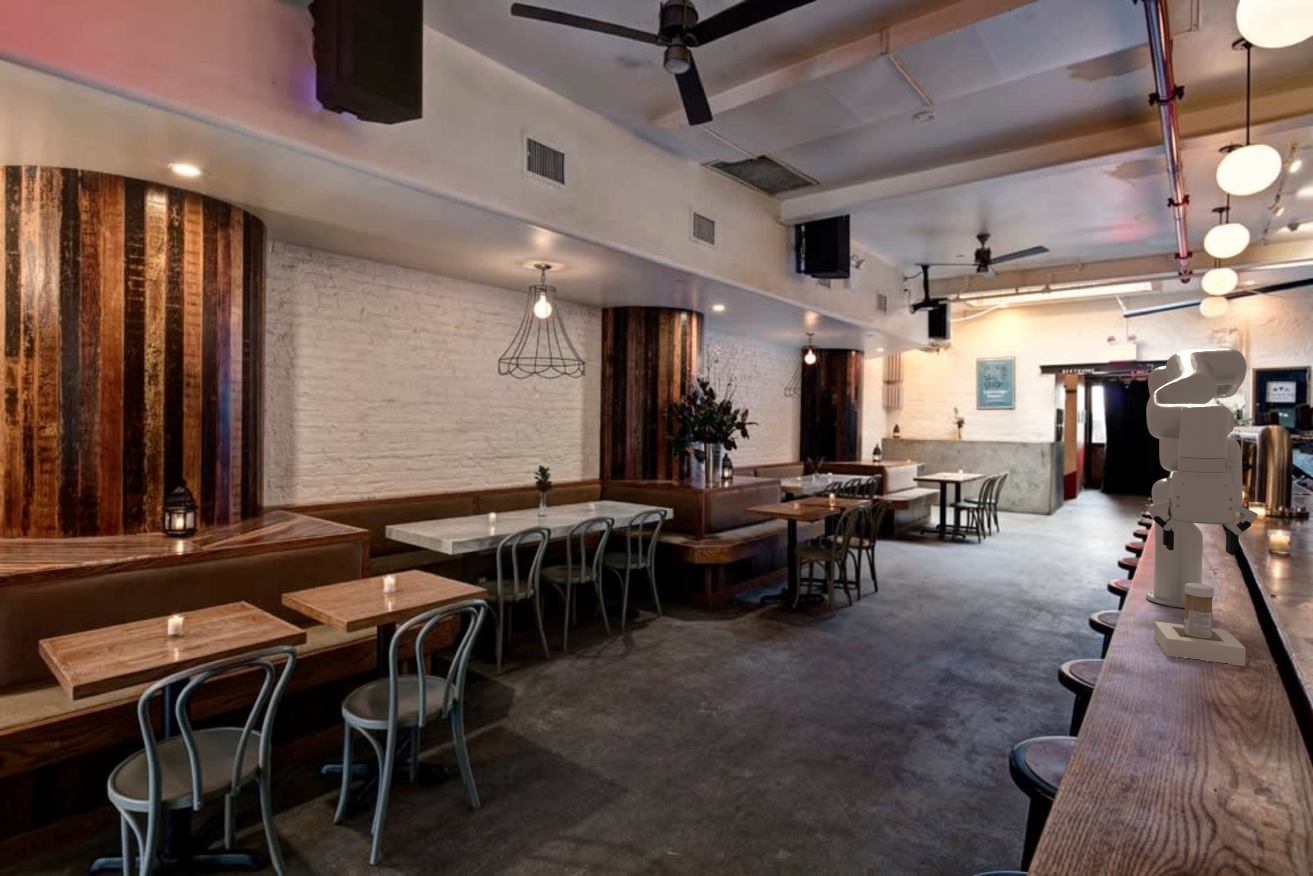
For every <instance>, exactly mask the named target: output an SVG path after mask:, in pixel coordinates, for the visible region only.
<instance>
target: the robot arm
mask: <svg viewBox="0 0 1313 876" xmlns="http://www.w3.org/2000/svg"><path fill="white" fill-rule="evenodd" d="M1247 368H1248V367H1247V360H1246V357H1245V356H1244V354H1243V353H1242V352H1241V351H1239V350H1238V349H1235V348H1231V347H1230V348H1206V349H1201V348H1200V349H1186V350H1182V351H1181V350H1180V351H1178V352H1176V353H1175V354H1173V355H1172V356H1170V357H1169V358H1168V359H1167V361H1166V364H1165V365H1163V366H1159V367H1156V368H1154V369H1152V370H1151V371H1150V373H1149V375H1148V379H1147V380H1148V381H1147V384H1148V392H1149V396H1150V397H1149V398H1148V401H1147V403H1146V424H1147V425H1146V426H1147V430H1148V432H1149V434H1150V435H1151V436H1152V437H1154V438H1156V439H1159V441H1158V442H1159V443H1158V444H1159V447H1158V448H1159V449H1158V452H1159V463H1160V466H1161V467H1162V468H1163V469H1164V470H1166V471H1167V472H1172V473H1171V477H1165V478H1161V479H1159V480H1157V481H1156V482H1155V483H1153V485H1152V489H1151V497H1152V498H1151V499H1152V505H1150V506H1148V507H1146V509H1147V512H1148V514H1149V515H1150V517H1151V518H1152V520H1153V521H1154V526H1155V527H1154V529H1155V531H1154V568H1153V569H1154V570H1153V571H1154V572H1153V574H1154V575H1153V576H1154V578H1153V590H1152V591H1148V592H1147V593H1145V596H1146V599H1147V600H1148V601H1151V602H1153V603H1155V604H1159V605H1164V606H1168V607H1174V608H1180V609H1185V599H1186V598H1185V597H1186V595H1185V594H1186V593H1185V584H1187V583H1199V584H1203V560H1204V559H1203V557H1204V556H1203V554H1204V551H1203V550H1204V538H1203V533H1202V531H1201V530H1200V528H1199V527H1198V526H1197V525H1196V524H1202V525H1203V524H1206V525H1207V524H1208V525H1209V524H1210V525H1221V526H1223V525H1224V527H1225V528H1226V529H1227V530H1228V531H1227V532H1225V535H1226V537H1225V553H1227V554H1229V555H1231V556H1235V554H1236V551H1239V545H1240V544H1239V543H1240V541H1239V540H1240V537H1239V536H1240V535H1241V534H1242V533H1243V532H1245V531H1246V530H1247V529H1250V527H1251V526H1252V524H1253V523H1254V522H1255V520H1256V519H1257V517H1258V513H1257V512H1255V511H1254V510H1250V509H1248V508H1246V507H1244V506H1243V455H1242V449H1241V446H1240V443H1239V442H1238V441H1237V439H1235V438H1233V437H1231V436H1229V435H1230V433H1232V432H1234V429H1235V428H1234V427H1235V414H1234V412H1232V411H1231V410H1230V408H1229V407H1228V406H1226V405H1224V404H1219V403H1218V404H1217V403H1209V402H1210V401H1212V400H1213V399H1225V398H1231V397H1232V396H1235V394H1236V393H1237V392H1238V391H1239V389H1240V387H1241V386H1242V384H1243V383H1244V380H1246V379H1245V378H1246V376H1247ZM1240 514H1241V515H1244V517H1243V520H1241V521H1239V522H1238V523H1237V524H1235V523H1234V521H1235V519H1236V518H1237V517H1238V516H1239V515H1240Z"/></svg>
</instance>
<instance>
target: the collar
mask: <svg viewBox="0 0 1313 876" xmlns="http://www.w3.org/2000/svg"><path fill="white" fill-rule="evenodd" d="M1153 630H1154V631H1153V632H1154V634H1153V635H1154V636H1153V637H1155V638H1154V639H1156V640H1157V641H1158V642H1157V641H1156V640H1155V641H1156V642H1157V644H1158V643H1159V644H1160V645H1161V647H1162V648H1161V647H1160V648H1161V650H1162V649H1163V650H1164V651H1163V650H1162V651H1163V653H1164V652H1165V653H1166V654H1165V653H1164V654H1165V656H1166V655H1169V656H1168V657H1171V656H1178V657H1187V658H1193V659H1203V660H1209V661H1216V662H1222V663H1221V664H1223V663H1228V664H1227V665H1231V666H1239V667H1246V653H1247V651H1246V647H1245V646H1244V645H1243V644H1242V643H1241V642H1240V641H1239V640H1238V639H1237V638H1236V637H1235V636H1233V635H1232V633H1231V632H1229V631H1228V629H1223V628H1214V627H1212V637H1211V640H1203V639H1195V638H1187V637H1184V624H1179V623H1171V622H1164V621H1163V622H1161V621H1154V629H1153ZM1159 644H1158V645H1159ZM1160 645H1159V646H1160ZM1178 657H1177V658H1178ZM1193 659H1192V660H1193ZM1216 662H1215V663H1216Z"/></svg>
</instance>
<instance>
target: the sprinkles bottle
mask: <svg viewBox="0 0 1313 876" xmlns="http://www.w3.org/2000/svg"><path fill="white" fill-rule="evenodd" d="M1185 593H1186V594H1185V595H1186V597H1185V598H1186V599H1185V608H1184V614H1183V615H1184V617H1183V618H1184V620H1183V625H1184V637H1187V638H1195V639H1203V640H1211V637H1212V628H1213V598H1214V596H1215V588H1214V587H1213V586H1211V585H1208V584H1204V583H1202V584H1199V583H1187V584H1185Z"/></svg>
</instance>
